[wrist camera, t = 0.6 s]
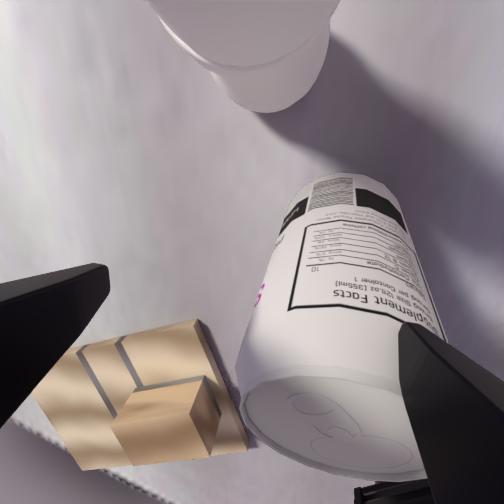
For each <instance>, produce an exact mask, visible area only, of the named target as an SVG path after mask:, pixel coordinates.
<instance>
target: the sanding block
mask: <svg viewBox="0 0 504 504" xmlns="http://www.w3.org/2000/svg"><path fill="white" fill-rule="evenodd" d="M221 415H222V413H221V411H220V408H219V406H218V404H217V402H216V400H215V397H214V395H213V393H212V391H211V388H210V386H209V384H208V382H207V379H206V377H205V375H201V376H196V377H191V378H185V379H180V380H175V381H169V382H164V383H158V384H153V385H148V386H142V387H137V388H135V389H134V391H133V392H132V394H131V395H130V397H129V398H128V400H127V401H126V403H125V404H124V406H123V407H122V409H121V410H120V412H119V413H118V414H117V416H116V417H115V419H114V420H113V422H112V423H111V425H110V428H111V429H112V431H113V433H114V435H115V436H116V438H117V440H118V441H119V443H120V445H121V446H122V448H123V450H124V452H125V453H126V455H127V457H128V458H129V460H130V462H131V463H132V465H133V466H138V465H147V464H155V463H164V462H173V461H181V460H190V459H198V458H207V457H210V455H211V452H212V448H213V444H214V441H215V437H216V433H217V429H218V426H219V422H220V418H221Z"/></svg>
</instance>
